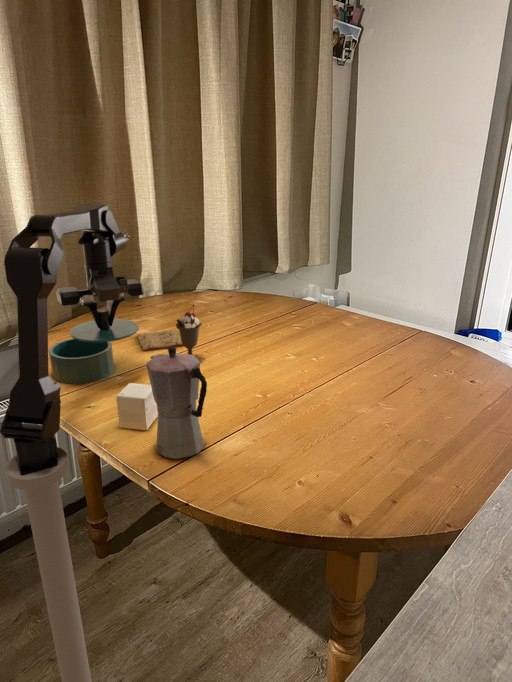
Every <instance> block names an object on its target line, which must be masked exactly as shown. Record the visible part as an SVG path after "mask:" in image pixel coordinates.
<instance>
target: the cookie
mask: <svg viewBox="0 0 512 682" xmlns="http://www.w3.org/2000/svg"><path fill="white" fill-rule="evenodd" d="M136 338H137V341H138V343H139V345H140V346H141V349H142V351H149V350H155V349H164V348H170V347H178V346H179V347H180V346H183V345H182V341H181V336H180V334H179V333H178V332H177V330H174V329H173V330H172V329H169V330H163V331H156V332H154V331H153V332H144V333H138V334H136Z"/></svg>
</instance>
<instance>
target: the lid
mask: <svg viewBox="0 0 512 682" xmlns="http://www.w3.org/2000/svg"><path fill="white" fill-rule="evenodd" d="M97 311H98V316H99V320H100V328H98V327H97V325H96V323H95V321H94V319H92V320H88V321H84V322H81V323H79V324H77V325H75V326H73V327H72V328H71V329H70V332H69V335H70V337H71V338H74V339H76V340H79V341H84V342H116V341H121V340H124V339H127V338H129V337H132V336H134V335H135V334H136V333H138V332H139V328H140V327H139V324H138V323H136V322H135V321H133V320H131V319H127V318H126V319H125V318H118V317H117V318H115V317H114V320H113V324H112V326H110V322H109V312H108V310H107V308H103V309H97Z"/></svg>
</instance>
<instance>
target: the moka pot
mask: <svg viewBox="0 0 512 682" xmlns="http://www.w3.org/2000/svg"><path fill="white" fill-rule="evenodd" d="M167 351H168V353H167V354H166V353H157V354H154V355H153V354H152V355H151V356H149V358H150V360H148V361H146V363H145V364H146V365H145V366H146V370H147V374H148V378H149V382H150V385H151V388H152V392H153V396H154V400H155V402H156V404H157V411H158V417H157V427H156V451H157V453H158V454H159V455H160V456H163V457H164V458H167V459H176V460H177V459H184V458H188V457H192V456H196V455H197V454H199V453H200V452H201V451H202V450H203V447H204V445H205V443H204V439H203V434H202V430H201V426H200V425H201V424H200V420H199V419H200V418H201V417H202V416H203V409H204V403H205V399H206V396H207V392H208V382H207V380H206V377H205V376H204V375H203V374H202V372H201V361H199V360H198V359H197V358H196V357H197V356H196V357H195V355H194V354H193V355H188V353H187V354H186V353H179V352H177V347H176V346H172V347H167ZM200 382H201V385H200ZM199 387H200V388H199ZM199 389H200V390H199ZM197 400H198V402H197ZM197 404H198V405H197Z"/></svg>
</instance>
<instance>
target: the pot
mask: <svg viewBox="0 0 512 682" xmlns="http://www.w3.org/2000/svg"><path fill="white" fill-rule="evenodd" d="M113 351H114V350H113V343H112V341H110V342H84V341H79V340H76V339H74V338H73V337H71V338H68V339H64V340H62V341H61V340H60V341H58V342H56V343H54V344H53V345H52V346H51V347H50V348H49V349H48V357H49V361H50V369H51V374H52V378H53V379H54V380H55V381H56V382H58V383H62V384H68V385H79V384H80V385H82V384H88V383H94V382H97V381H100V380H102V379H105V378H106V377H108V376H110V375H111V374H112V373H113V372H114V371H115V360H114V352H113Z"/></svg>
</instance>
